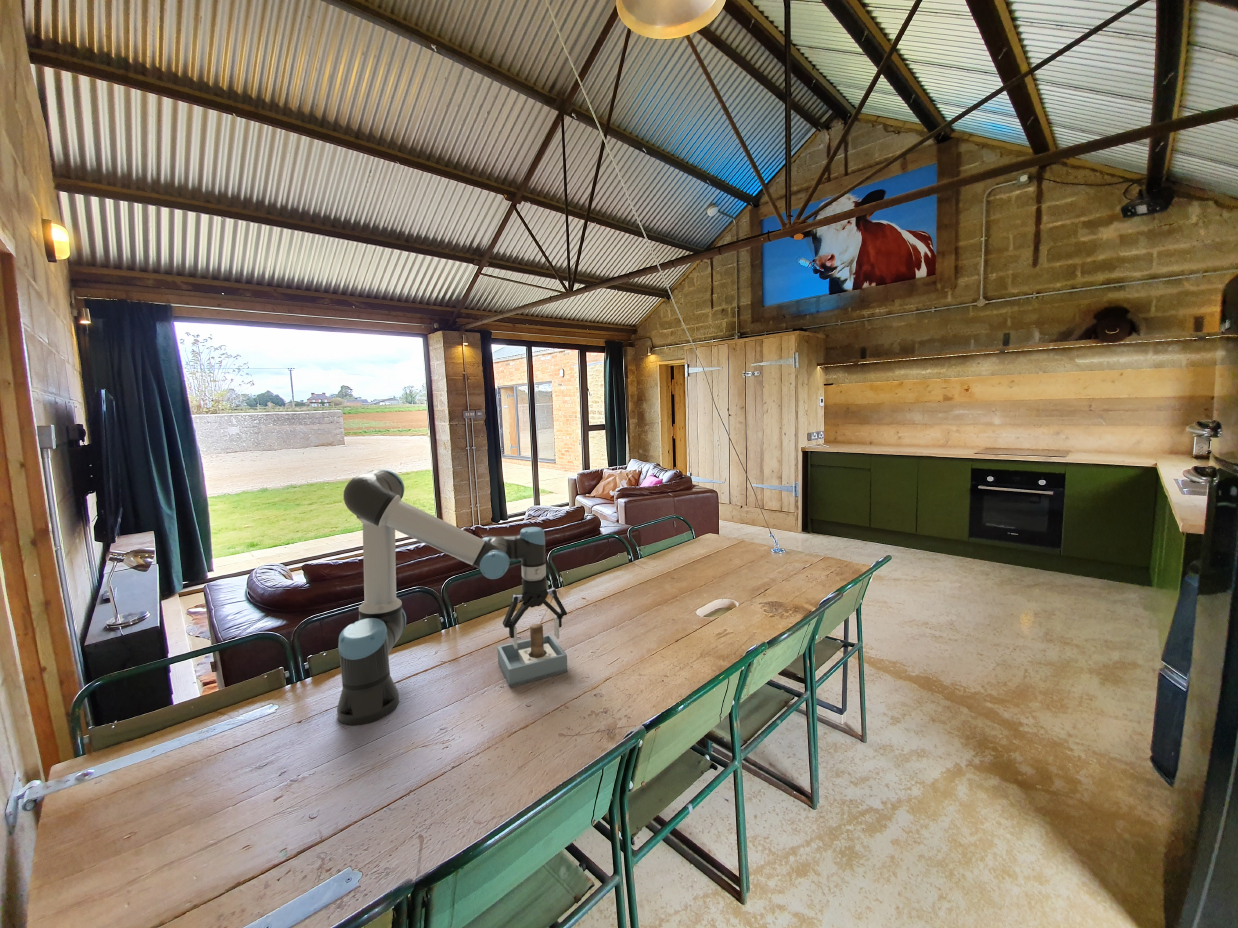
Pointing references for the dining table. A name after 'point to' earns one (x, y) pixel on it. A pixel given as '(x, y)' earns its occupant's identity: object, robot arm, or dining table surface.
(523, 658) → the plate
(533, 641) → the peg
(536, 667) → the box
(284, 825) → the dining table surface
